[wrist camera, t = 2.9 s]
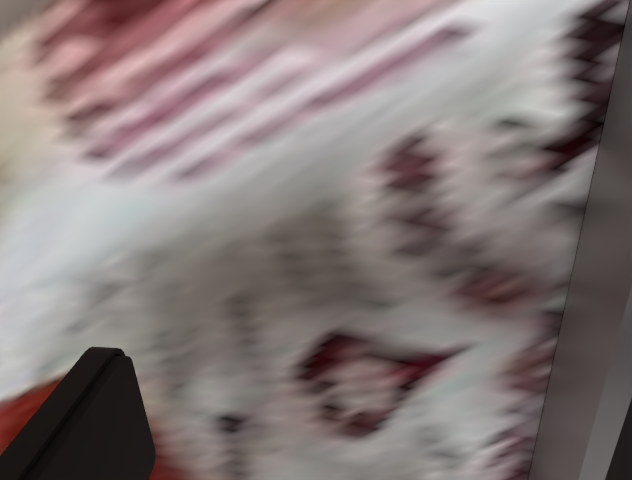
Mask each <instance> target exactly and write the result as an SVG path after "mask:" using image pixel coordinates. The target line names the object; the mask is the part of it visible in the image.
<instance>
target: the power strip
mask: <svg viewBox="0 0 632 480" xmlns="http://www.w3.org/2000/svg"><path fill="white" fill-rule="evenodd" d="M631 399H632V0H630V5H629V9H628V14H627V19H626V24H625V28H624V33H623V38H622V42H621V47H620V52H619V56H618V61H617V66H616V70H615V75H614V80H613V84H612V89H611V94H610V99H609V103H608V108H607V113H606V117H605V122H604V127H603V131H602V136H601V141H600V145H599V150H598V155H597V159H596V164H595V169H594V173H593V178H592V183H591V188H590V192H589V197H588V202H587V206H586V211H585V216H584V220H583V225H582V230H581V234H580V239H579V244H578V248H577V253H576V258H575V263H574V267H573V272H572V277H571V281H570V286H569V291H568V295H567V300H566V305H565V309H564V314H563V319H562V323H561V328H560V333H559V337H558V342H557V347H556V352H555V356H554V361H553V366H552V370H551V375H550V380H549V384H548V389H547V394H546V398H545V403H544V408H543V412H542V417H541V422H540V427H539V431H538V436H537V441H536V445H535V450H534V455H533V459H532V464H531V469H530V473H529V478H528V480H605V478H606V475H607V472H608V469H609V466H610V463H611V460H612V457H613V453H614V450H615V447H616V444H617V441H618V438H619V435H620V432H621V429H622V426H623V423H624V420H625V417H626V414H627V411H628V408H629V405H630V402H631Z"/></svg>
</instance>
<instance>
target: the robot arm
mask: <svg viewBox="0 0 632 480" xmlns="http://www.w3.org/2000/svg"><path fill="white" fill-rule="evenodd" d="M154 462H155V447H154V443H153V440H152V436H151V432H150V428H149V424H148V420H147V416H146V412H145V409H144V405H143V401H142V397H141V393H140V389H139V385H138V381H137V377H136V374H135V370H134V366H133V362H132V359H131V358H130V357H128V356H125V354H124V352H123V351H122V350H121V349H119V348H104V347H91V348H89V349H88V350H87V351H85V353H84V354H83V355H82V356H81V357H80V359H79V360H78V361H77V362H76V364H75V365H74V366H73V367H72V369H71V370H70V371H69V372H68V373H67V375H66V376H65V377H64V378H63V380H62V381H61V382H60V383H59V384H58V386H57V387H56V388H55V389H54V391H53V392H52V393H51V394H50V396H49V397H48V398H47V399H46V400H45V402H44V403H43V404H42V405H41V407H40V408H39V409H38V410H37V412H36V413H35V414H34V415H33V416H32V418H31V419H30V420H29V421H28V423H27V424H26V425H25V426H24V427H23V429H22V430H21V431H20V432H19V434H18V435H17V436H16V437H15V439H14V440H13V441H12V442H11V443H10V445H9V446H8V447H7V448H6V450H5V451H4V452H3V453H2V455H1V456H0V480H147V479H148V477H149V475H150V473H151V471H152V469H153V466H154ZM605 480H632V399H631V402H630V405H629V408H628V411H627V414H626V417H625V420H624V423H623V426H622V429H621V432H620V435H619V438H618V441H617V444H616V447H615V450H614V453H613V457H612V460H611V463H610V466H609V469H608V472H607V475H606V478H605Z"/></svg>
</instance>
